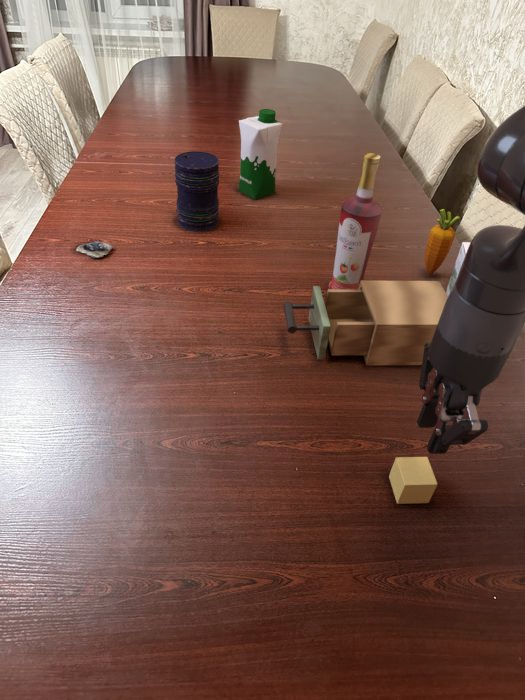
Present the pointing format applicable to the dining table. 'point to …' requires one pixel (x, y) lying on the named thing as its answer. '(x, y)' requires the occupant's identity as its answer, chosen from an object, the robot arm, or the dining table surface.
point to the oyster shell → (95, 249)
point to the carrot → (439, 242)
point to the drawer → (336, 321)
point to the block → (412, 480)
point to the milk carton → (259, 154)
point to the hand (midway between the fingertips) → (430, 437)
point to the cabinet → (402, 319)
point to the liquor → (357, 230)
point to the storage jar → (197, 190)
